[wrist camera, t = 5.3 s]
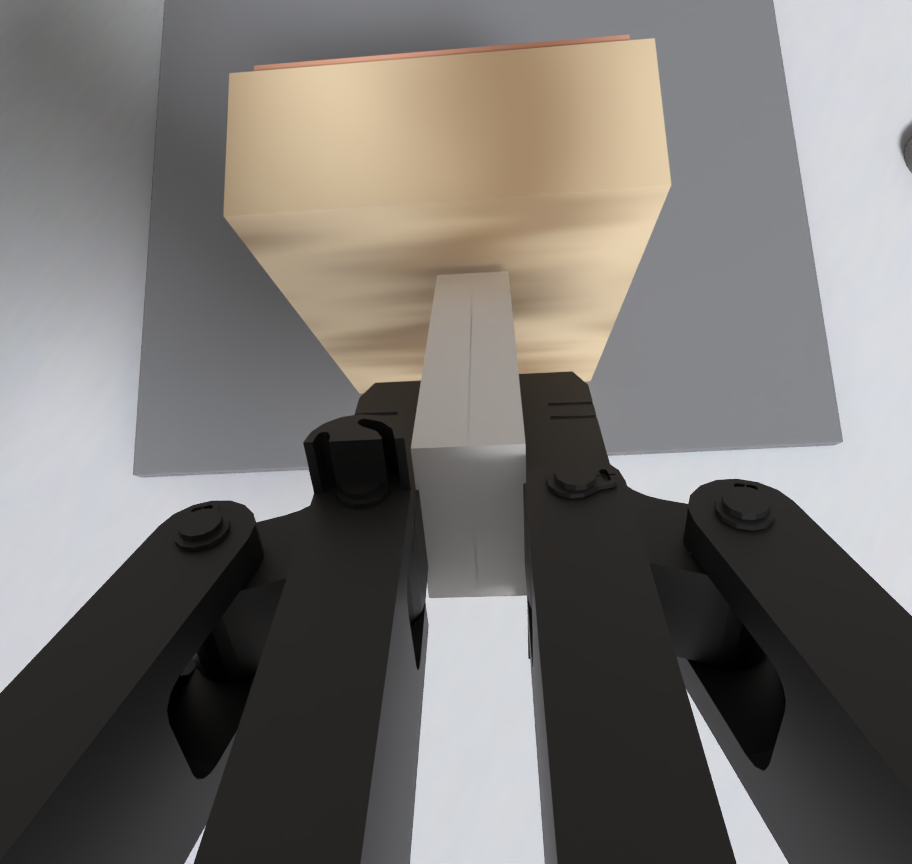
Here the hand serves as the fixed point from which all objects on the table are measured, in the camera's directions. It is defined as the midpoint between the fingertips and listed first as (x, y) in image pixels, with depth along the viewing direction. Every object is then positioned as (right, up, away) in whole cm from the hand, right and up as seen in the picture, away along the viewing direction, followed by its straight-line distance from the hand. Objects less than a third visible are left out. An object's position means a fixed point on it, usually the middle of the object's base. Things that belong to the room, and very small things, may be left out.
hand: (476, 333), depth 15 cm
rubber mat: (0, +7, +11) cm, 13 cm away
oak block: (0, +1, +9) cm, 9 cm away
